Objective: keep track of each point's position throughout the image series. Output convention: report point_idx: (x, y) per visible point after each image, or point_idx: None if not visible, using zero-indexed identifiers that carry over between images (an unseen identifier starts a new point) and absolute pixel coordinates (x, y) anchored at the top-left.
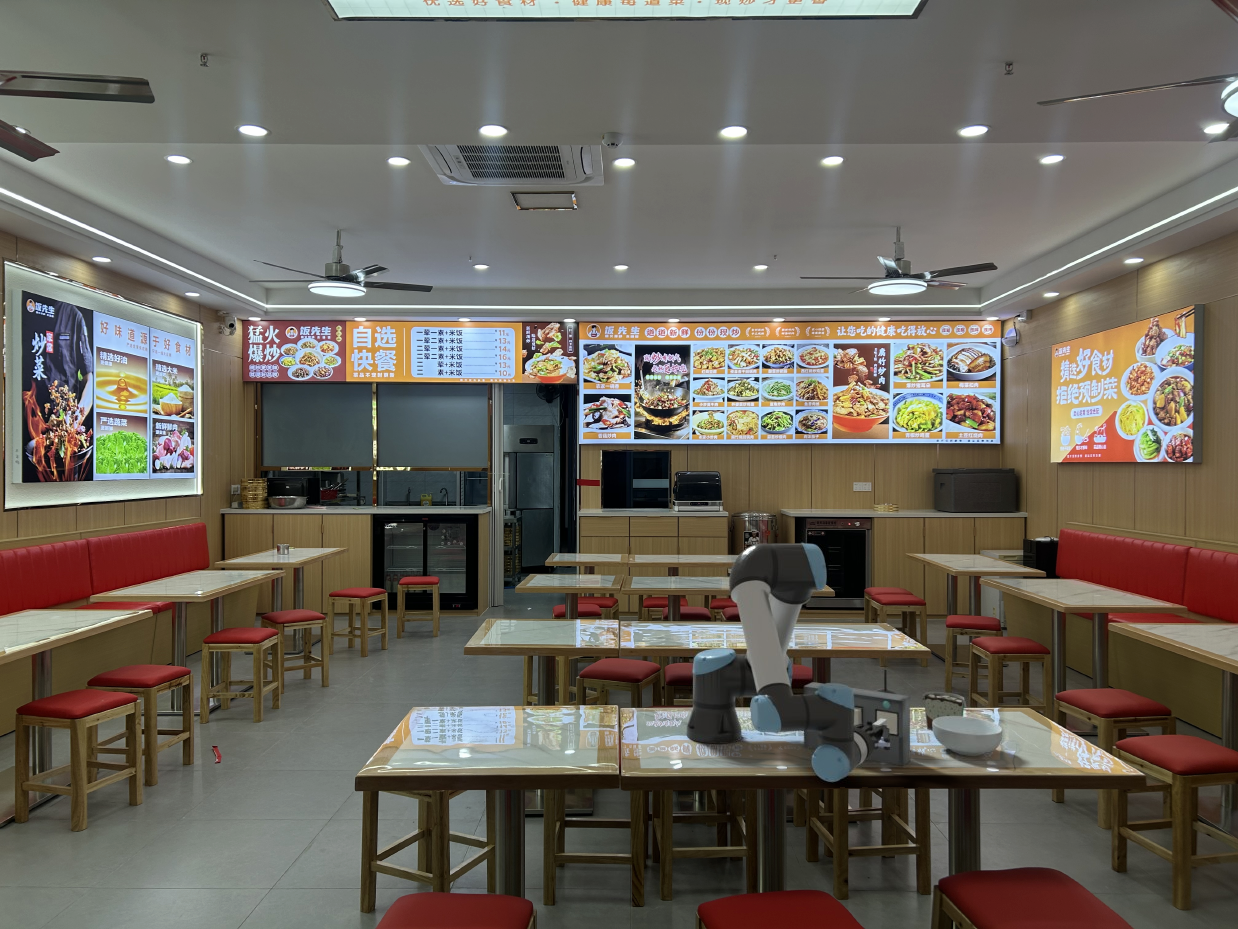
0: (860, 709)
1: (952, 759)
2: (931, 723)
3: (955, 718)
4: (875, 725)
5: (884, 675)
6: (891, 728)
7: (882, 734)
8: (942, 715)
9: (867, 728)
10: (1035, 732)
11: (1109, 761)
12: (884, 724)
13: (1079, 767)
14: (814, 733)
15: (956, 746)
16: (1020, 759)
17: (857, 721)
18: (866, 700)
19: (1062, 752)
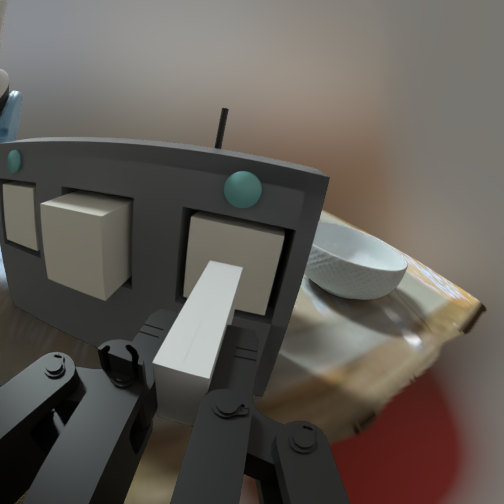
0: (121, 208)
1: (341, 319)
2: None
3: (318, 225)
4: (178, 374)
5: (220, 121)
6: (245, 292)
7: (247, 470)
8: None
9: (90, 496)
10: None
11: (448, 281)
12: (232, 307)
13: (451, 299)
14: (20, 277)
15: (352, 292)
16: (405, 294)
17: (101, 264)
18: (150, 167)
19: (412, 270)
